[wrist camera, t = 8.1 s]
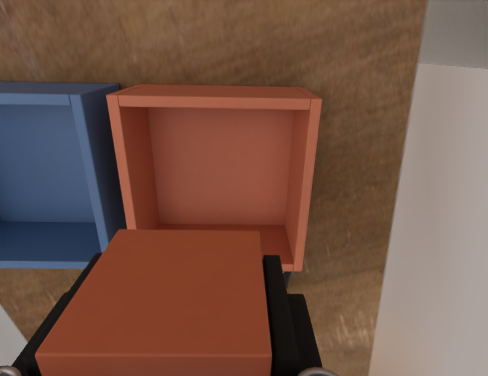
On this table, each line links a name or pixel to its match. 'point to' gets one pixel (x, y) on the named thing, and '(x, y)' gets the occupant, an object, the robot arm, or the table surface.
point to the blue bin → (57, 174)
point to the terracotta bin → (218, 160)
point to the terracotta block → (166, 309)
